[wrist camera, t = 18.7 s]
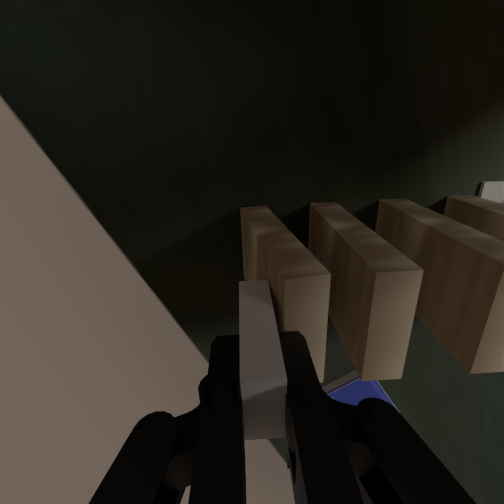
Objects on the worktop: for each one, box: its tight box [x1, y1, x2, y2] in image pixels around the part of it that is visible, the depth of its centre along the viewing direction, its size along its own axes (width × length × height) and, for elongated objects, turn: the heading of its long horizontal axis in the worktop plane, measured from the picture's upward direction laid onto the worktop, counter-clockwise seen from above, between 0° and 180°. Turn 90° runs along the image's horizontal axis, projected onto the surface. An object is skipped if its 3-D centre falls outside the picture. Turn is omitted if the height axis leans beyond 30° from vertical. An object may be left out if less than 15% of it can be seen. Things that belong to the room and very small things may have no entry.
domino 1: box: [240, 205, 331, 383], centre depth 19 cm, size 2×6×12 cm, turn 3°
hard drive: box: [322, 370, 399, 412], centre depth 33 cm, size 2×8×12 cm
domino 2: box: [308, 202, 424, 381], centre depth 19 cm, size 2×6×12 cm, turn 2°
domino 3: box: [375, 198, 504, 374], centre depth 19 cm, size 2×6×12 cm, turn 2°
